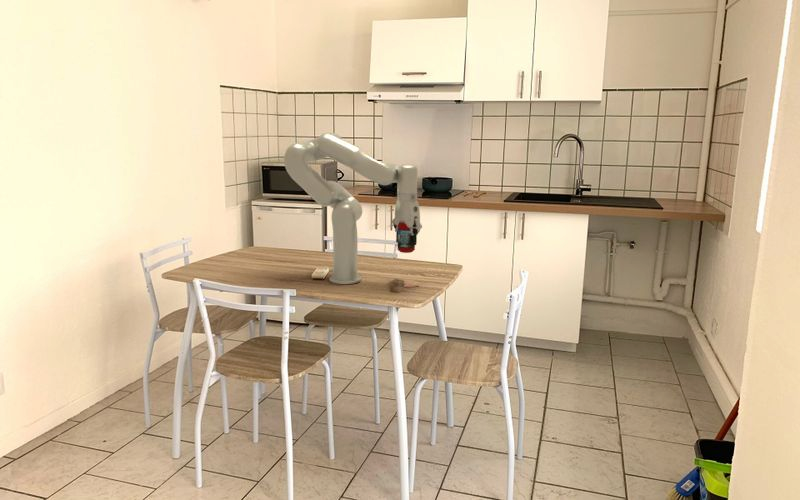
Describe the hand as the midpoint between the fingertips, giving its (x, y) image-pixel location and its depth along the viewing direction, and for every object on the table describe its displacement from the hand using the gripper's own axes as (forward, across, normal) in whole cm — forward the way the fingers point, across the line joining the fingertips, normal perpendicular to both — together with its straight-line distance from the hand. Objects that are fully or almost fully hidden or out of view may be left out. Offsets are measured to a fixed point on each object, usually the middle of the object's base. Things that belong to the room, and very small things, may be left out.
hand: (406, 243), depth 229 cm
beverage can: (+4, 0, 0) cm, 4 cm away
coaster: (+16, 0, 0) cm, 16 cm away
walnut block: (+17, -5, +9) cm, 19 cm away
